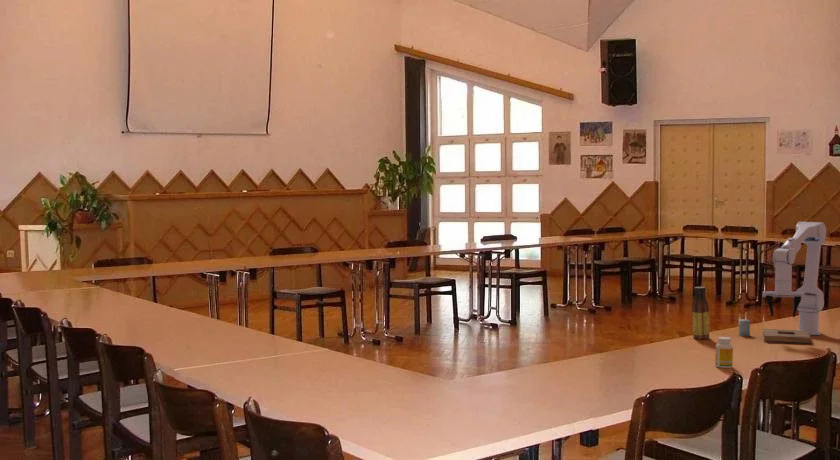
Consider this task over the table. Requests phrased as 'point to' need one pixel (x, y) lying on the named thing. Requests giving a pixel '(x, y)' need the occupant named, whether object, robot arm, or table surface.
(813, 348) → the table surface
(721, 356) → the supplement bottle
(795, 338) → the walnut socket block
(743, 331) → the slate pin
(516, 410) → the table surface
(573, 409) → the table surface
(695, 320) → the sauce bottle
